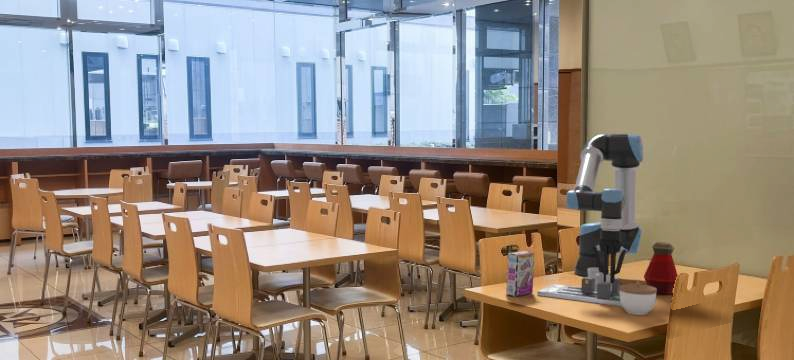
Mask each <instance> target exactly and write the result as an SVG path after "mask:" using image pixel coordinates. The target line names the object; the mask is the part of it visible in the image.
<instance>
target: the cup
mask: <svg viewBox="0 0 794 360" xmlns="http://www.w3.org/2000/svg"><path fill="white" fill-rule="evenodd" d="M587 277H590V278H594V279H595V289H597V284H598V283H599V282H604V281H603V280H604V274H603V273H602V272H599V269H598V268H588V276H587Z"/></svg>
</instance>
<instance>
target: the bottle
mask: <svg viewBox="0 0 794 360" xmlns="http://www.w3.org/2000/svg"><path fill="white" fill-rule="evenodd" d="M652 250H653V255H652V257H651V258H650V259H651V260H650V262H649V264H648V265H647V268H646V270H645V272H644V274H643V278H644V281H645V282H646V285H648V286H652V287H655V288H656V289H657V292H656V295H658V296H660V295H661V296H662V295H663V296H670V295H671V294H672V293H673V292H674V290H673V288H674V284H675V280H676V277H677V276H678V277H679V275H678V271H677V268H676V265H675V262H674V259H673V255H672V254H673V252H674V250H675V247H674V246H673V244H671V243H670V242H667V241H666V242H665V241H657V242H655V243H654V244H653V245H652ZM674 289H675V288H674Z"/></svg>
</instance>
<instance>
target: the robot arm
mask: <svg viewBox="0 0 794 360" xmlns="http://www.w3.org/2000/svg"><path fill="white" fill-rule="evenodd" d="M579 157H580V160H581V162H580V166H579V170H578V173H577V174H578V175H577V178H576V181H575V185H574V188H573V190H568V191H567V192H566V197H565V198H566V199H565V203H566V204H565V205H566V208H567V209H568V210H576V211H593V212H601V215H600V221H599V222H589V223H588V222H587V223H584V224H582V225H580V228H579V235H578V236H579V243H578V247H579V248H578V251H579V252H578V257H577V260H576V263H575V266H574V268H573V269H574V270H573V271H574V272H573V273H574V274H575V275H578V276H581V277H588V268H598V269H599V272H602V273H603V274H604V280H603V281H604V282H609V283H610V284H611V291H612V283H614V282H615V278H616V275H617V274H620V273H621V270H622V266H623V264H624V263H623V262H624V260H625V256H626V255H628V254H629V255H630V254H632V255H633V254H634V255H635V254H637V253H638V252H639V249H640V245H641V238H642V233H643V232H642V231H643V228H642V227H640V226H639V222H638V221H636V181H637V180H636V175H637V174H636V172H637V168H639V167H640V165H641V164H640V163H641V162H644V146H643V141H642V138H641V136H640V135H639V134H631V133H600V134H598V135H595V136H593V137H592V138H590V139H589V140H588V141H587V142H586V143H585V144H584V146H583V147H582V148H581V152H580V156H579ZM604 161H607V162H611V166H612V167H613V169H614V188H604V189H602V191H595V186H596V183H597V177H598V174H599V168H600V165H601V164H602V163H603V162H604ZM617 254H619V257H618V260H617V259H616V258H617ZM616 261H617V264H616ZM609 264H610V265H609ZM609 268H610V269H609Z"/></svg>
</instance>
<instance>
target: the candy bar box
mask: <svg viewBox="0 0 794 360" xmlns="http://www.w3.org/2000/svg"><path fill="white" fill-rule="evenodd" d="M534 267H535V252H531V251H527V250H526V251H525V250H523V251H516V252H515V251H514V252H508V253H507V268H506V269H507V270H506V271H507V272H506V289H505V290H506V291H505V292H506V294H505V295H506V296H508V297H514V298H517V297H522V296H526V295H532V294H533V289H534V269H535V268H534Z"/></svg>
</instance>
